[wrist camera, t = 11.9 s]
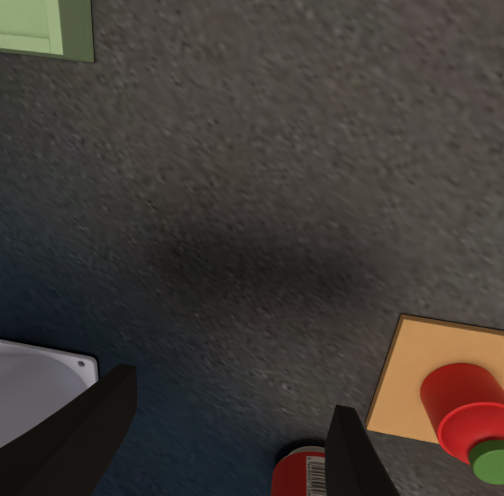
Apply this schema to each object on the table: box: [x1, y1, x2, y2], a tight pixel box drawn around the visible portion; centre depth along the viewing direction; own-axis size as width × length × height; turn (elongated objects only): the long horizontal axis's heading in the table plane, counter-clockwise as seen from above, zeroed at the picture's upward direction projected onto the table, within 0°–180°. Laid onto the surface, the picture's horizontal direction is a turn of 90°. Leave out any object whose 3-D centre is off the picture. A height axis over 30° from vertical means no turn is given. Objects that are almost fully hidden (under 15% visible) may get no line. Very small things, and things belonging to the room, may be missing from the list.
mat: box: [366, 314, 504, 444], centre depth 21 cm, size 9×9×1 cm
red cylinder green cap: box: [420, 363, 504, 484], centre depth 19 cm, size 4×4×5 cm
